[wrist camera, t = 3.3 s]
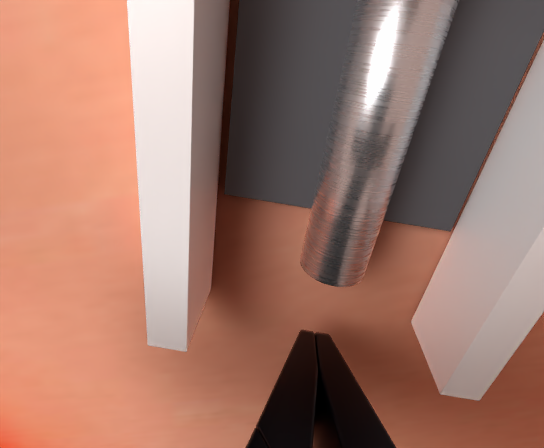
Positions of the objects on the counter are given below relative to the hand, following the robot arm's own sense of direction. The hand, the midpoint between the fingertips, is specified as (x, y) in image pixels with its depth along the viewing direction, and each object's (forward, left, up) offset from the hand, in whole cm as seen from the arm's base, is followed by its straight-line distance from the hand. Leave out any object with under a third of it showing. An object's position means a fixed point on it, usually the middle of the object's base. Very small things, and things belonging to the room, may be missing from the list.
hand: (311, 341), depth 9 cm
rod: (+6, -2, -1) cm, 7 cm away
